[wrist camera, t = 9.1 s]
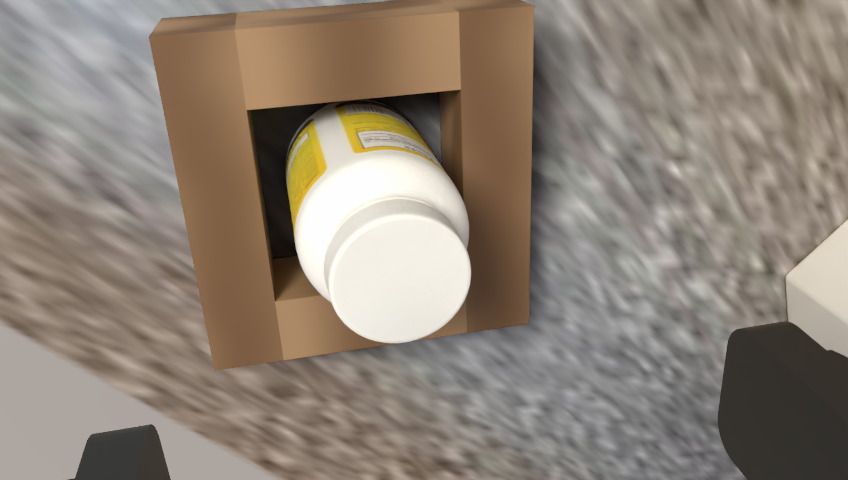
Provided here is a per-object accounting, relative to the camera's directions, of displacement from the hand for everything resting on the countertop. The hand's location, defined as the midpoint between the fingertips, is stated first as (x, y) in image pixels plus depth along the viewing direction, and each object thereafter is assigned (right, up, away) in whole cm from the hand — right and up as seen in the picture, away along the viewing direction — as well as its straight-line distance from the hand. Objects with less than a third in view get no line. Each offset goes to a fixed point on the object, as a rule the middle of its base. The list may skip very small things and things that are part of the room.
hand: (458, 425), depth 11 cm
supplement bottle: (-3, +6, +19) cm, 20 cm away
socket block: (-3, +5, +19) cm, 20 cm away
